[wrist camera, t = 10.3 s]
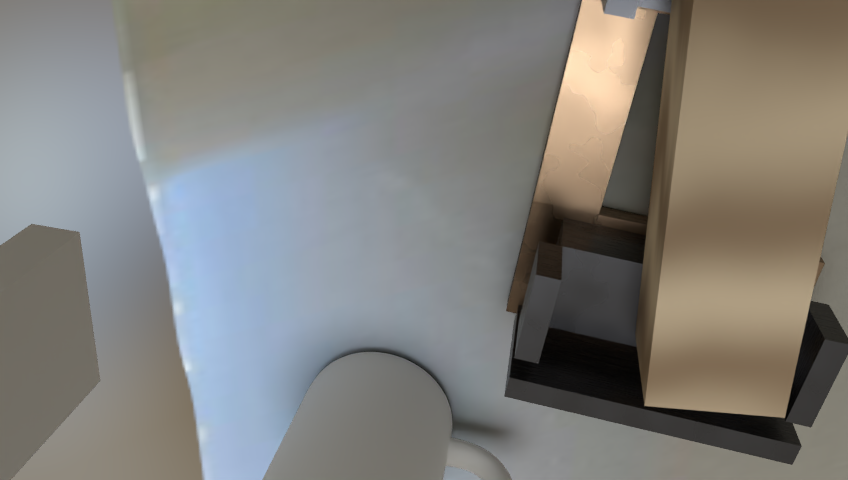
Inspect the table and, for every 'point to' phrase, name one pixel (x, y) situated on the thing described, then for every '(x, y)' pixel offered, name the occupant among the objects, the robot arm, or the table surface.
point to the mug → (376, 427)
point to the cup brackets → (620, 265)
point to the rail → (740, 199)
